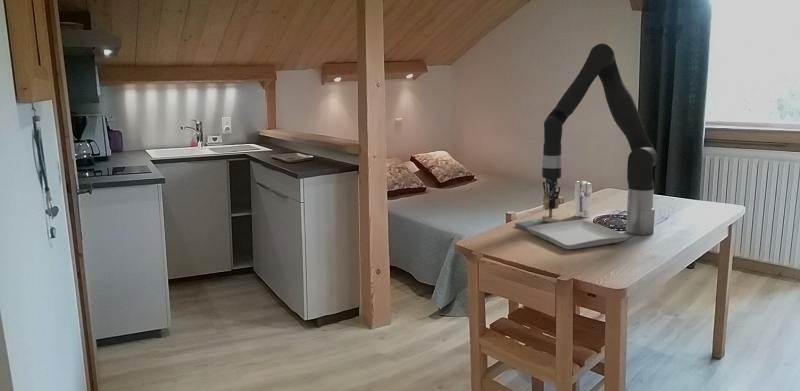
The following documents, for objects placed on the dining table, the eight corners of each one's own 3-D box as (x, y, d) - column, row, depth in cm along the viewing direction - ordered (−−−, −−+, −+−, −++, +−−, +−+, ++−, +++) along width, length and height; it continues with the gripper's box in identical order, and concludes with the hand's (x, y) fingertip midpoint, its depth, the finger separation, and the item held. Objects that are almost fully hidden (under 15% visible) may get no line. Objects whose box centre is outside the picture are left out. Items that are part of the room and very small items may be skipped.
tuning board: (570, 227, 254) (570, 223, 254) (534, 233, 246) (534, 229, 246) (549, 220, 265) (549, 217, 265) (515, 226, 257) (515, 222, 257)
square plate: (524, 235, 245) (524, 226, 244) (583, 227, 254) (583, 218, 253) (566, 254, 220) (566, 243, 219) (629, 245, 229) (630, 234, 228)
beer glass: (588, 214, 274) (590, 180, 271) (592, 217, 268) (593, 183, 265) (572, 214, 275) (573, 180, 272) (575, 217, 268) (576, 183, 265)
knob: (561, 222, 255) (562, 194, 253) (538, 225, 251) (538, 197, 249) (552, 218, 261) (553, 192, 259) (529, 221, 257) (529, 194, 255)
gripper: (567, 168, 246) (566, 211, 249) (554, 163, 259) (553, 204, 263) (549, 169, 245) (548, 212, 248) (536, 163, 258) (536, 204, 262)
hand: (550, 207), depth 256 cm, fingers closed on knob, 2 cm apart
